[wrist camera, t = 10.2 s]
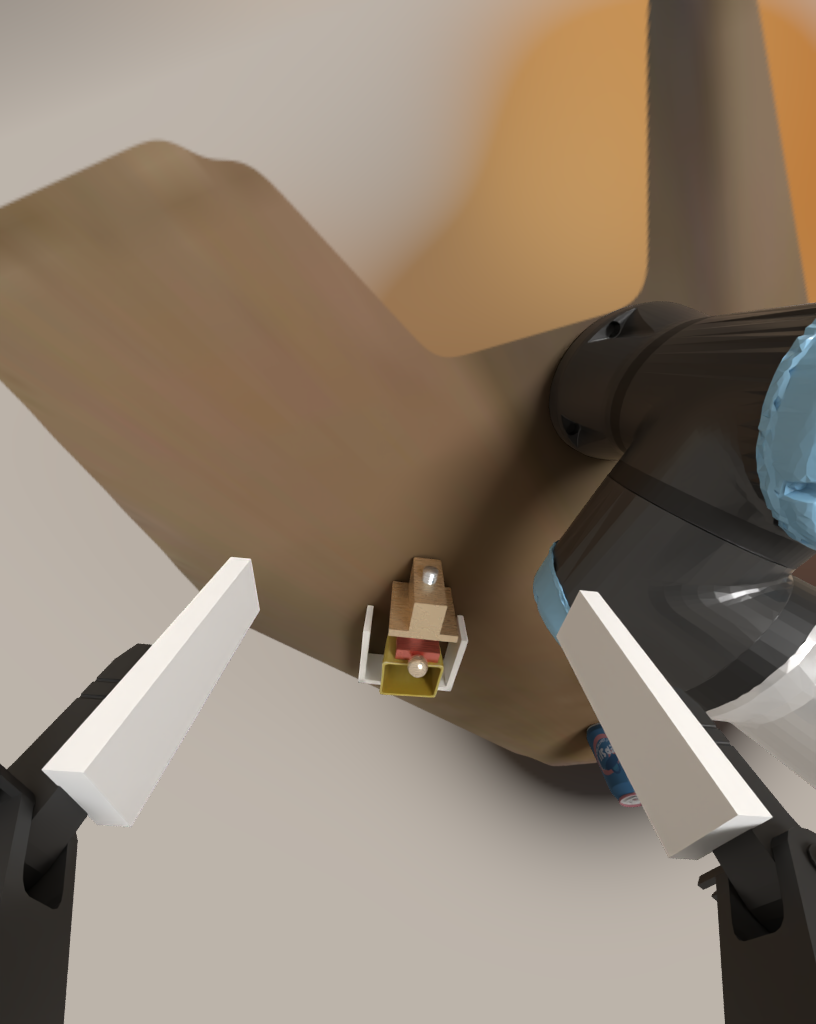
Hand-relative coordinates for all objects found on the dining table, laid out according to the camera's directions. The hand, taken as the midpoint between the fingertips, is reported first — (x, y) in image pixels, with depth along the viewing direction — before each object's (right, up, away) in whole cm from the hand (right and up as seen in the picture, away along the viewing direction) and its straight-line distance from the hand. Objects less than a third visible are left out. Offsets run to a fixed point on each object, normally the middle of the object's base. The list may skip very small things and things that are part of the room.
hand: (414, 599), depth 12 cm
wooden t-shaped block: (+2, -8, +34) cm, 35 cm away
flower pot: (0, -16, +39) cm, 42 cm away
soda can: (+42, -45, +54) cm, 82 cm away
